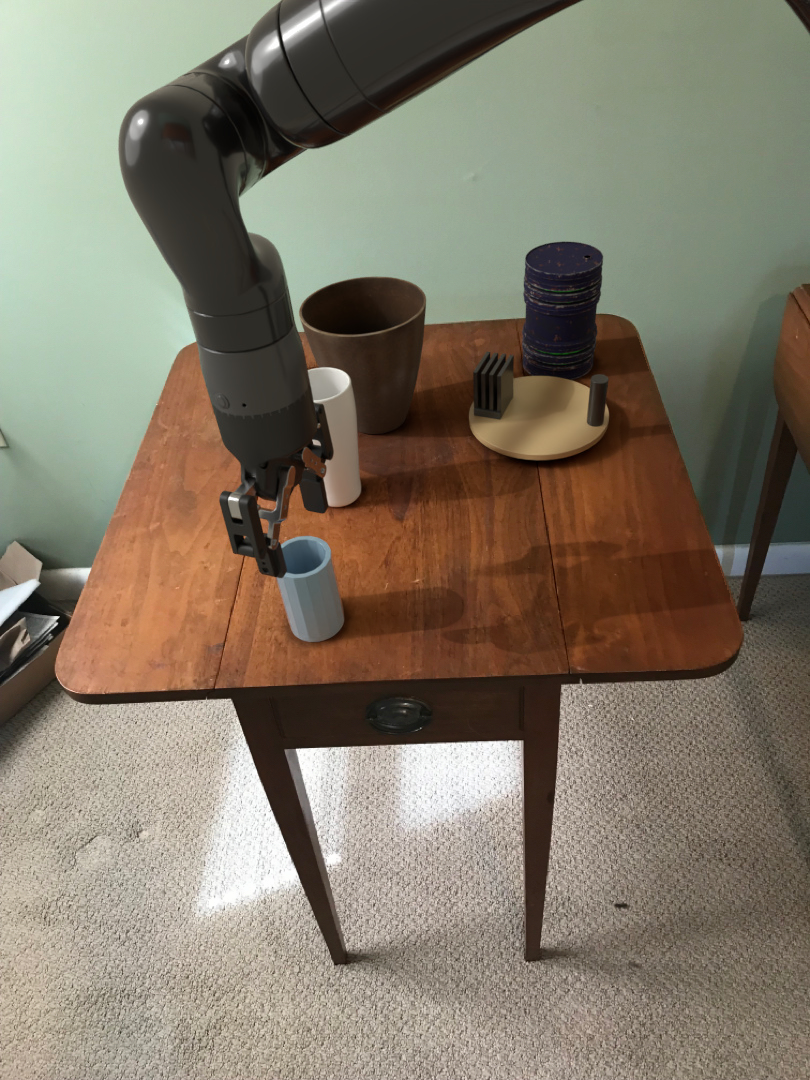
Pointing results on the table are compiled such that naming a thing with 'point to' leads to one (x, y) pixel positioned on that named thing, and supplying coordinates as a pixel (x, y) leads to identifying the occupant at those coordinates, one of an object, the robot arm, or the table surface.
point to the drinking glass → (338, 434)
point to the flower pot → (370, 343)
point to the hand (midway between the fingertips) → (297, 540)
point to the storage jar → (561, 309)
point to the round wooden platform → (535, 411)
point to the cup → (310, 589)
